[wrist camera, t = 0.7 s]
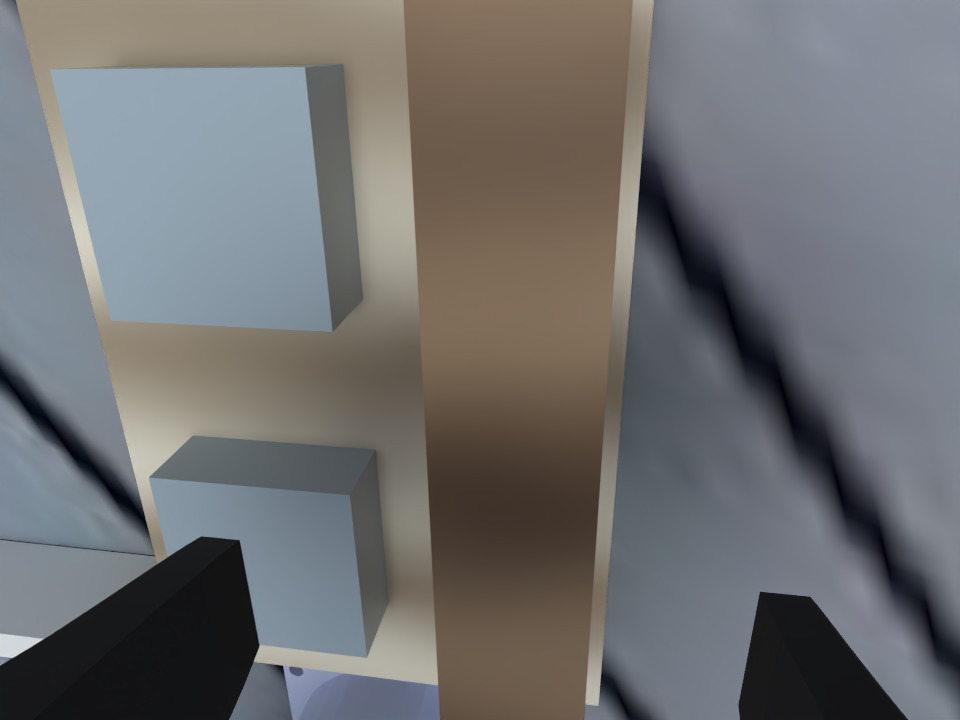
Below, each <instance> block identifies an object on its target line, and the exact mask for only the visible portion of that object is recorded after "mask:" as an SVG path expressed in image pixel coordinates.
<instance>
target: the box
mask: <svg viewBox="0 0 960 720" xmlns="http://www.w3.org/2000/svg"><path fill="white" fill-rule="evenodd" d="M155 565H157V561H156V557H155V556H146V555H137V554H127V553H118V552H109V551H99V550H90V549H80V548H71V547H61V546H52V545H43V544H33V543H24V542H14V541H5V540H0V656H1V657H9V658H14V657H15V656H17V655H19V654H20V653H22V652H23V651H25V650H27V649H28V648H30V647H32V646H33V645H35V644H36V643H38V642H40V641H41V640H43V639H45V638H46V637H48V636H49V635H51V634H53V633H54V632H56V631H57V630H59V629H60V628H62V627H63V626H65V625H66V624H68V623H69V622H71V621H72V620H74V619H76V618H77V617H79V616H80V615H82V614H83V613H85V612H86V611H88V610H89V609H91V608H92V607H94V606H95V605H97V604H98V603H100V602H101V601H103V600H104V599H106V598H107V597H109V596H110V595H112V594H113V593H115V592H116V591H118V590H119V589H121V588H122V587H124V586H125V585H127V584H128V583H130V582H131V581H133V580H134V579H136V578H137V577H139V576H140V575H142V574H143V573H145V572H146V571H148V570H149V569H151V568H152V567H154V566H155Z"/></svg>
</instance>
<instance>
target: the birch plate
mask: <svg viewBox="0 0 960 720" xmlns="http://www.w3.org/2000/svg"><path fill="white" fill-rule="evenodd" d="M16 3H17V7H18V11H19V15H20V19H21V23H22V27H23V31H24V35H25V39H26V43H27V47H28V51H29V55H30V59H31V63H32V67H33V71H34V75H35V79H36V83H37V87H38V91H39V94H40V98H41V102H42V106H43V110H44V114H45V118H46V122H47V126H48V130H49V134H50V138H51V142H52V146H53V150H54V154H55V158H56V162H57V166H58V170H59V174H60V178H61V182H62V186H63V190H64V194H65V198H66V202H67V206H68V210H69V214H70V218H71V222H72V226H73V230H74V234H75V238H76V242H77V246H78V250H79V254H80V258H81V262H82V266H83V270H84V274H85V278H86V282H87V286H88V290H89V294H90V298H91V302H92V306H93V310H94V314H95V318H96V322H97V326H98V330H99V334H100V338H101V342H102V346H103V350H104V354H105V358H106V362H107V366H108V370H109V374H110V378H111V382H112V386H113V390H114V394H115V398H116V402H117V406H118V410H119V414H120V418H121V422H122V426H123V430H124V434H125V438H126V442H127V446H128V450H129V454H130V458H131V462H132V466H133V470H134V474H135V478H136V482H137V485H138V489H139V493H140V497H141V501H142V505H143V509H144V513H145V517H146V521H147V525H148V529H149V533H150V537H151V541H152V545H153V549H154V553H155V557H156V561H157V564H158V563H160V562H161V561H163V560H164V559H166V558H167V557H168V556H167V552H166V548H165V544H164V540H163V535H162V531H161V527H160V523H159V519H158V515H157V511H156V506H155V502H154V498H153V494H152V490H151V486H150V482H149V477H150V476H151V475H152V474H153V473H154V472H155V471H156V470H157V469H158V468H159V467H160V466H161V465H162V464H163V463H164V462H165V461H166V460H168V459H169V458H170V457H171V456H172V455H173V454H174V453H175V452H176V451H177V450H178V449H179V448H180V447H181V446H182V445H183V444H184V443H185V442H186V441H187V440H188V439H190V438H191V437H192V436H206V437H219V438H232V439H245V440H258V441H271V442H284V443H297V444H310V445H323V446H336V447H349V448H362V449H375V450H376V458H377V470H378V482H379V494H380V506H381V518H382V529H383V541H384V553H385V565H386V577H387V589H388V600H389V603H388V605H387V608H386V610H385V613H384V616H383V618H382V621H381V623H380V626H379V628H378V631H377V634H376V636H375V639H374V641H373V644H372V646H371V649H370V652H369V654H368V657H367V658H362V657H354V656H346V655H338V654H330V653H322V652H314V651H306V650H298V649H290V648H282V647H274V646H266V645H260V647H259V649H258V652H257V654H256V657H255V659H254V662H260V663H267V664H275V665H283V666H291V667H299V668H307V669H314V670H322V671H330V672H338V673H346V674H353V675H361V676H369V677H377V678H385V679H393V680H400V681H408V682H416V683H424V684H432V685H438V673H437V653H436V633H435V613H434V594H433V574H432V554H431V534H430V515H429V495H428V475H427V455H426V436H425V416H424V396H423V377H422V357H421V337H420V317H419V298H418V278H417V258H416V238H415V219H414V199H413V179H412V159H411V140H410V120H409V100H408V81H407V61H406V41H405V21H404V2H403V0H16ZM653 4H654V0H633V6H632V21H631V36H630V51H629V66H628V80H627V95H626V110H625V125H624V139H623V154H622V169H621V184H620V198H619V213H618V228H617V243H616V257H615V272H614V287H613V302H612V317H611V331H610V346H609V361H608V376H607V390H606V405H605V420H604V435H603V449H602V464H601V479H600V494H599V508H598V523H597V538H596V553H595V568H594V582H593V597H592V612H591V627H590V641H589V656H588V671H587V686H586V700H585V704H588V705H596V706H598V705H599V692H600V679H601V667H602V654H603V641H604V628H605V616H606V603H607V590H608V577H609V565H610V552H611V539H612V526H613V514H614V501H615V488H616V475H617V463H618V450H619V437H620V425H621V412H622V399H623V386H624V374H625V361H626V348H627V335H628V323H629V310H630V297H631V284H632V272H633V259H634V246H635V233H636V221H637V208H638V195H639V182H640V170H641V157H642V144H643V132H644V119H645V106H646V93H647V81H648V68H649V55H650V42H651V30H652V17H653ZM257 64H343V68H344V80H345V92H346V104H347V116H348V127H349V139H350V151H351V163H352V175H353V187H354V198H355V210H356V222H357V234H358V246H359V257H360V269H361V281H362V293H363V300H362V301H361V302H360V303H359V305H358V306H357V307H356V308H355V309H354V310H353V311H352V312H351V313H350V314H349V315H348V316H347V317H346V318H345V319H344V320H343V322H342V323H341V324H340V325H339V326H338V327H337V328H336V329H335V330H334V331H333V332H324V331H304V330H285V329H265V328H246V327H226V326H207V325H187V324H168V323H148V322H129V321H111V320H110V316H109V312H108V308H107V304H106V300H105V296H104V291H103V287H102V283H101V279H100V275H99V271H98V267H97V262H96V258H95V254H94V250H93V246H92V242H91V238H90V233H89V229H88V225H87V221H86V217H85V213H84V209H83V205H82V200H81V196H80V192H79V188H78V184H77V180H76V176H75V171H74V167H73V163H72V159H71V155H70V151H69V147H68V142H67V138H66V134H65V130H64V126H63V122H62V118H61V114H60V109H59V105H58V101H57V97H56V93H55V89H54V85H53V80H52V76H51V72H50V69H66V68H84V67H103V66H147V65H257Z"/></svg>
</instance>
